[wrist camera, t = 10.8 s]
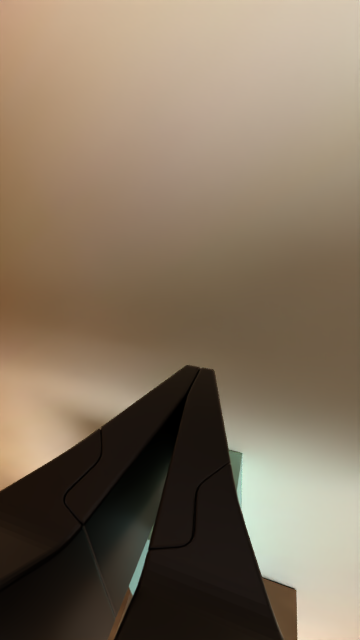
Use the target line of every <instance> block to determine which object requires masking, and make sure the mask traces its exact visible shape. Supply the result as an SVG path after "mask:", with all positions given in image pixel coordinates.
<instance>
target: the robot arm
mask: <svg viewBox="0 0 360 640" xmlns="http://www.w3.org/2000/svg"><path fill="white" fill-rule="evenodd" d="M154 522H155V523H154ZM153 524H154V527H153ZM152 527H153V531H152V535H151V539H150V543H149V547H148V552H147V555H146V559H145V562H144V566H143V569H142V572H141V575H140V579H139V582H138V585H137V587H136V590H135V592H134V594H133V597H132V599H131V601H130V604H129V606H128V608H127V610H126V613H125V615H124V617H123V619H122V622H121V624H120V626H119V629H118V631H117V633H116V635H115V638H114V640H284V638H283V635H282V633H281V630H280V628H279V625H278V623H277V620H276V617H275V615H274V612H273V609H272V606H271V603H270V600H269V597H268V594H267V591H266V588H265V585H264V582H263V579H262V576H261V572H260V569H259V566H258V563H257V560H256V557H255V554H254V550H253V547H252V544H251V541H250V538H249V535H248V532H247V528H246V525H245V522H244V518H243V514H242V511H241V507H240V504H239V500H238V495H237V491H236V486H235V482H234V477H233V471H232V466H231V461H230V455H229V449H228V444H227V438H226V433H225V427H224V421H223V416H222V410H221V405H220V399H219V394H218V388H217V382H216V377H215V372H214V370H213V369H207V368H201V369H200V368H199V367H197V366H191V365H186V366H185V367H183V368H182V369H181V370H179V371H178V372H176V373H175V374H174V375H172V376H171V377H170V378H168V379H167V380H165V381H164V382H163V383H161V384H160V385H158V386H157V387H156V388H154V389H153V390H152V391H150V392H149V393H147V394H146V395H145V396H143V397H142V398H141V399H139V400H138V401H136V402H135V403H134V404H132V405H131V406H130V407H128V408H127V409H125V410H124V411H123V412H121V413H120V414H119V415H117V416H116V417H114V418H113V419H112V420H110V421H109V422H107V423H106V424H105V425H103V426H102V427H101V429H98V430H96V431H95V432H94V433H92V434H91V435H89V436H88V437H87V438H85V439H84V440H82V441H81V442H79V443H78V444H76V445H75V446H73V447H72V448H71V449H69V450H67V451H66V452H64V453H63V454H61V455H59V456H58V457H56V458H55V459H53V460H52V461H50V462H48V463H47V464H45V465H43V466H42V467H40V468H38V469H37V470H35V471H33V472H32V473H30V474H28V475H27V476H25V477H23V478H21V479H20V480H18V481H16V482H15V483H13V484H11V485H10V486H8V487H6V488H5V489H3V490H1V491H0V640H108V637H109V635H110V632H111V630H112V627H113V625H114V622H115V617H116V616H117V614H118V612H119V609H120V607H121V604H122V602H123V599H124V597H125V594H126V592H127V589H128V587H129V584H130V582H131V579H132V577H133V574H134V572H135V569H136V567H137V564H138V562H139V559H140V557H141V554H142V552H143V549H144V547H145V544H146V542H147V539H148V537H149V534H150V532H151V529H152Z"/></svg>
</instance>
